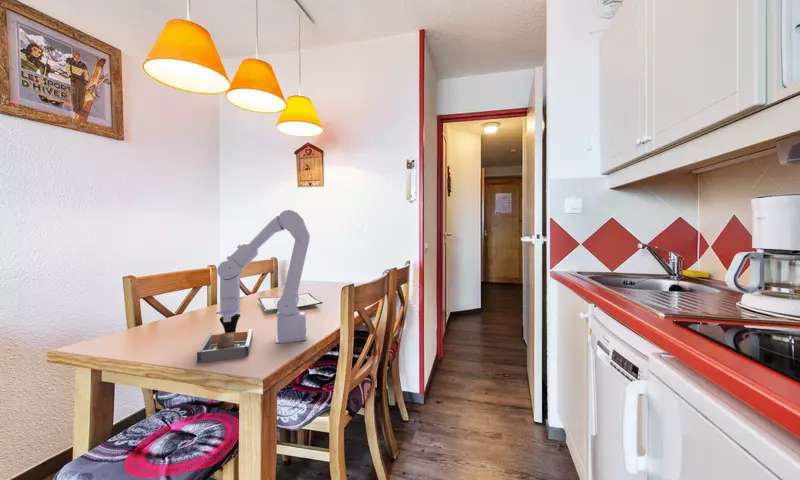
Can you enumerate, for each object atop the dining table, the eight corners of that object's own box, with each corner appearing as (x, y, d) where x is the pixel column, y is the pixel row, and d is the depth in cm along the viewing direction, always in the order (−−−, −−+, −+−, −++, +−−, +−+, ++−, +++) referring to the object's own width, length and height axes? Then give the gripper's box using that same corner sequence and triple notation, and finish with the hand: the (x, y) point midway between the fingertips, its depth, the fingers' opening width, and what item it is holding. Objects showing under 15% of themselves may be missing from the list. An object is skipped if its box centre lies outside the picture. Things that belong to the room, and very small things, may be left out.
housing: (252, 337, 108) (252, 329, 108) (248, 356, 92) (248, 346, 92) (209, 342, 103) (209, 333, 103) (197, 362, 87) (197, 352, 87)
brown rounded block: (234, 348, 96) (234, 332, 96) (233, 354, 92) (232, 337, 92) (218, 350, 95) (218, 334, 95) (216, 356, 91) (215, 339, 90)
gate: (247, 339, 104) (247, 330, 104) (247, 340, 103) (247, 331, 103) (211, 343, 100) (211, 334, 100) (211, 344, 99) (210, 335, 99)
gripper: (219, 293, 108) (220, 332, 108) (211, 302, 94) (212, 346, 95) (242, 292, 110) (243, 330, 111) (237, 300, 97) (238, 344, 97)
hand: (230, 337), depth 103 cm, fingers closed
